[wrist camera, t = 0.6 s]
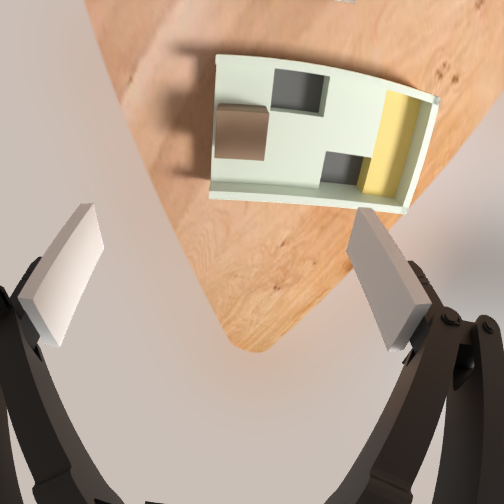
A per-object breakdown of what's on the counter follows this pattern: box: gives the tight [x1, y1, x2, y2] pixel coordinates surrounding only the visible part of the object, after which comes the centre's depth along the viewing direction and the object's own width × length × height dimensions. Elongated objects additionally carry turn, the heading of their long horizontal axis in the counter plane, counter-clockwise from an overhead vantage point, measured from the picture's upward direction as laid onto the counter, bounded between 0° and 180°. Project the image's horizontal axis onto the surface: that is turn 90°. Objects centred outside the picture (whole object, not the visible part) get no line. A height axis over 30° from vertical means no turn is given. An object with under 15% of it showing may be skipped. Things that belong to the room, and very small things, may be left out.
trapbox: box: [209, 54, 441, 214], centre depth 33 cm, size 16×25×5 cm, turn 85°
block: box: [214, 103, 269, 161], centre depth 30 cm, size 5×5×4 cm
